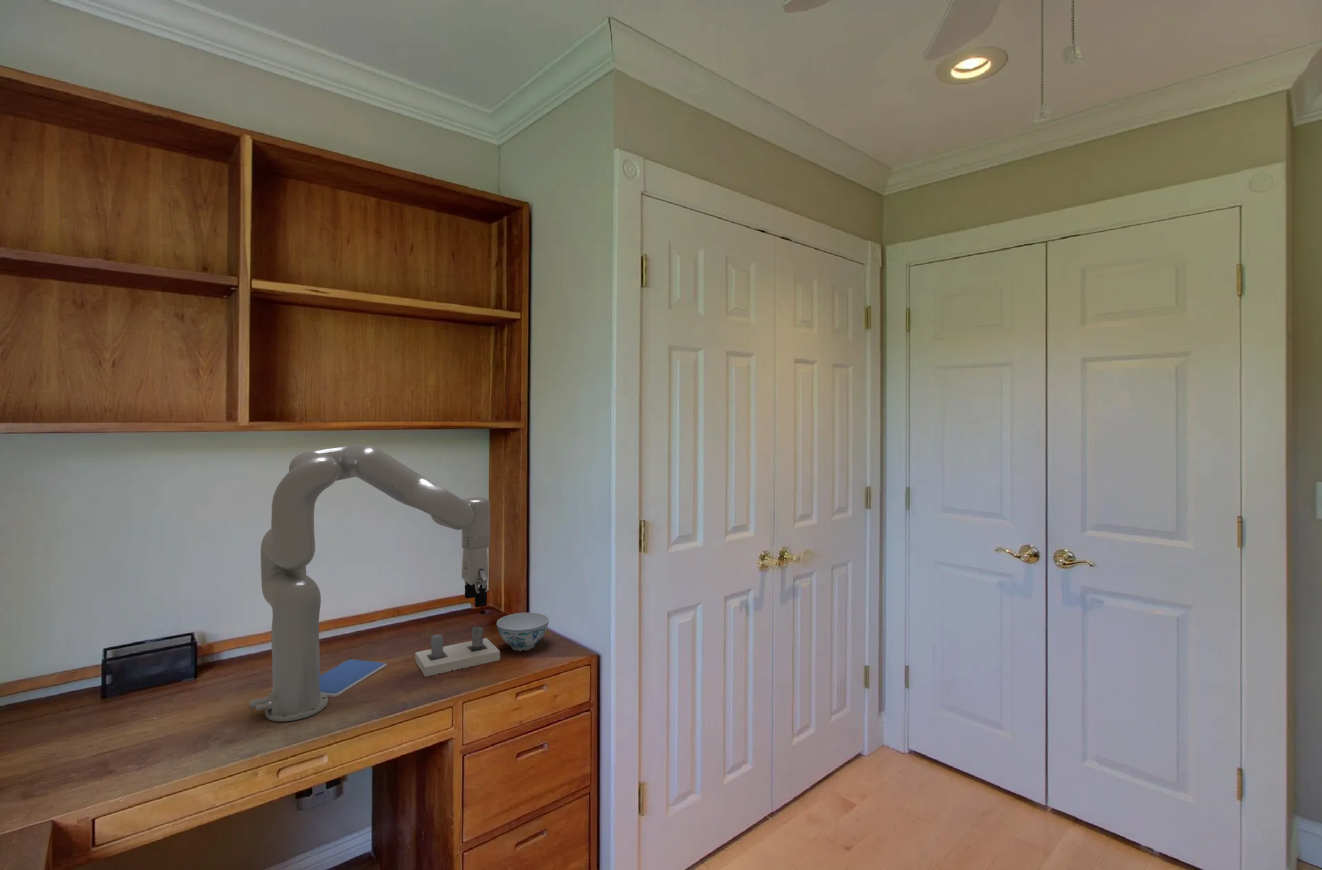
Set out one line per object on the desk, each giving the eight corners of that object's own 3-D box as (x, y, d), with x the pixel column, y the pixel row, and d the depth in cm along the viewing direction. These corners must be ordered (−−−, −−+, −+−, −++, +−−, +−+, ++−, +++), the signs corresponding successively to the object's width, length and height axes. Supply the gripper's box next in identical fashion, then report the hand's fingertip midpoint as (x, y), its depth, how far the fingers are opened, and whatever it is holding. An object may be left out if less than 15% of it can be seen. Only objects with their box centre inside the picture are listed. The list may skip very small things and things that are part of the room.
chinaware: (485, 650, 180) (485, 624, 180) (521, 634, 193) (521, 609, 193) (525, 660, 173) (524, 633, 173) (559, 643, 186) (559, 617, 186)
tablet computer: (335, 699, 151) (335, 694, 151) (292, 694, 154) (292, 688, 154) (388, 667, 170) (388, 662, 170) (349, 663, 173) (349, 658, 173)
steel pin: (473, 659, 174) (473, 631, 173) (470, 655, 176) (470, 628, 176) (484, 657, 175) (484, 629, 175) (481, 653, 178) (480, 626, 178)
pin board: (425, 676, 162) (424, 646, 162) (415, 661, 172) (414, 632, 172) (499, 660, 173) (499, 631, 173) (486, 646, 183) (486, 619, 183)
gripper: (454, 537, 180) (453, 596, 180) (471, 548, 165) (471, 612, 166) (479, 535, 184) (479, 592, 184) (499, 546, 169) (498, 608, 170)
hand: (475, 602), depth 175 cm, fingers open, 9 cm apart
